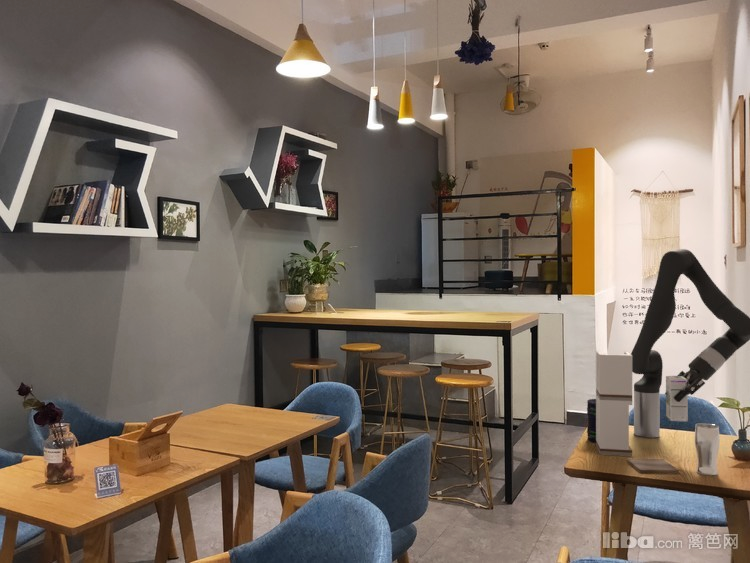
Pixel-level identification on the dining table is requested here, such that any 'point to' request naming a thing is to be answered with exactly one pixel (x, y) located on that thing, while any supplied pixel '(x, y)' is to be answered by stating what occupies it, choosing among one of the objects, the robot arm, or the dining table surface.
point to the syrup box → (674, 408)
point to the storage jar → (591, 420)
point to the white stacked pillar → (613, 403)
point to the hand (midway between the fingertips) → (671, 397)
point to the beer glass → (707, 448)
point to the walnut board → (652, 466)
